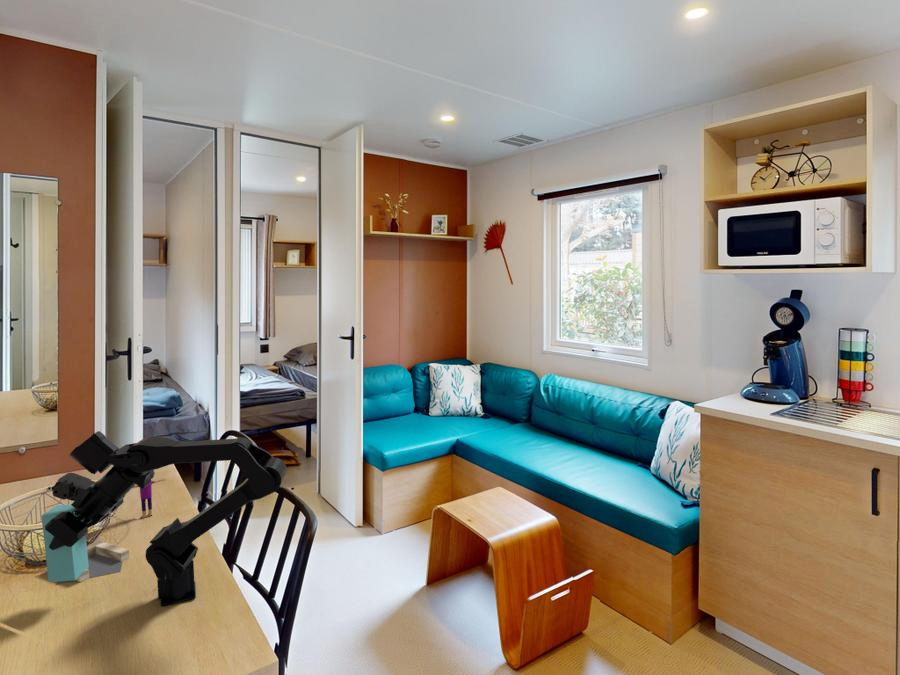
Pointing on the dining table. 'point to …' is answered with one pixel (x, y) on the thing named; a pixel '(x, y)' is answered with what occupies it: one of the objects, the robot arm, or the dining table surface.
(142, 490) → the toy
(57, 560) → the teal post
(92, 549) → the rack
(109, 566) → the mat
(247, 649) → the dining table surface
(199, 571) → the dining table surface
